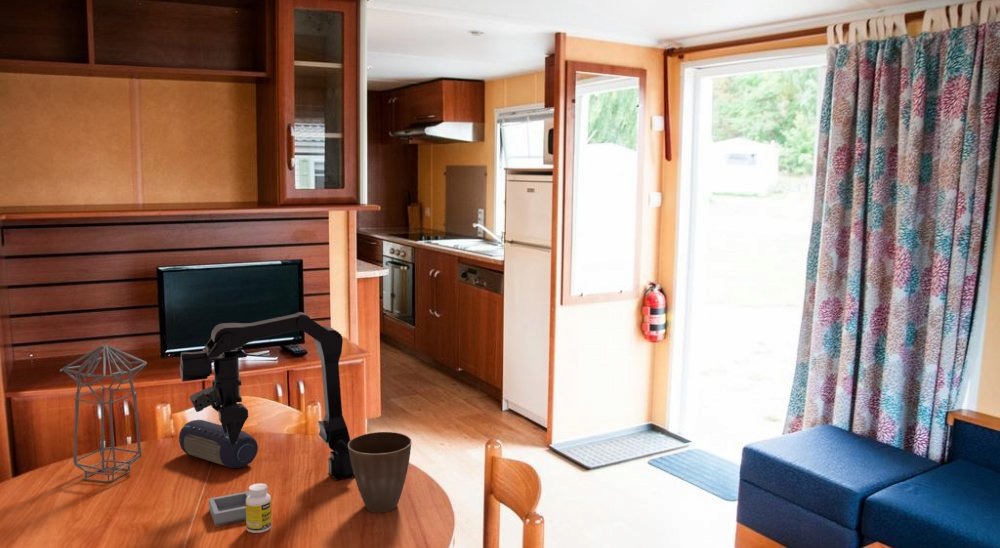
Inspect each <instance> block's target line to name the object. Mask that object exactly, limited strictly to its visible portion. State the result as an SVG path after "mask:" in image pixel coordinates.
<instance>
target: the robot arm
mask: <svg viewBox="0 0 1000 548" xmlns="http://www.w3.org/2000/svg"><path fill="white" fill-rule="evenodd" d="M297 331H303V332H304V333H305V334H307V335H308V336H309V337H311V338H313V341H314V345H315V349H316V351H317V354H318V358H319V360H320V363H321V373H322V388H323V400H324V413H325V414H324V418H323V420H318V421H317V422H318V426H319V433H318V436H319V437H320V438H321V439H322V441H323V442H324V443H325V444H326V446H327V447H328V448H329V449H330V450H331V451H330V452H329V453H330V455H329V456H330V457H328V473H329V475H330V476H332V478H333V479H334V480H335V481H339V480H344V479H348V478H355V477H354V473H353V469H352V465H351V461H350V456H349V450H348V443H349V441H350V440H352V438H351V437H350V433H349V429H348V426H347V423H346V421H345V418H344V415H343V404H342V393H341V392H342V391H341V390H342V389H341V378H340V376H341V375H340V364H339V363H340V358H341V356H342V352H343V344H344V343H343V342H344V339H343V336H342V334H341V333H340V332H339V331H337V330H336V329H334V328H333V327H331V326H328V325H323V326H322V325H321V324H319V323H318V322H316V321H315V320H313V319H311V317H310V316H309V315H308V314H306V313H304V312H301V311H299V312H298V311H297V312H296V313H293V314H289V315H284V316H278V317H274V318H273V317H272V318H269V319H263V320H259V321H255V322H249V323H248V322H247V323H244V322H243V323H242V322H226V323H225V322H224V323H223V322H222V323H219V324H217V325H215V326H214V327H213V329H212V330H211V334H210V339H209V340H208V342H207V343H206V344H205V345H204V348H203V349H202V350H201V351H190V352H189V351H183V352H181V353H180V364H179V372H180V373H179V375H180V379H181V382H182V383H185V382H191V381H192V382H193V381H200V380H207V379H208V377H211V375H212V374H214V375H213V377H214V378H213V379H212V381H211V386H209V387H206V388H204V389H202V390H199V391H197V392H195V393H193V394H191V395H190V396H189V400H190V402H191V404H192V406H193V408H194V411H195V412H196V413H199V412H202V411H203V410H204V409H206V408H208V407H210V406H211V408H212V409H214V410H215V411H216V412H217V414H218V415H217V416H218V420H219V423H221V424H220V425H222V427H223V431H224V433H228V437H229V441H230V444H231V445H233V444H236V441H237V439H238V436H239V434H240V432H241V431H242V429H243V428H244V425H245V422H246V421H247V420H248V418H249V410H248V408H247V407H246V405H244V404H243V403H242V402H243V399H242V398H243V397H242V396H241V386H242V380H241V379H240V365H239V363H240V360H239V359H241V358H247V357H248V354H247V353H246V352H245V351H243V350H242V348H241V347H243V346H245V345H247V344H249V343H251V342H254V341H256V340H259V339H260V340H261V339H266V338H269V337H273V336H278V335H284V334H288V333H293V332H297ZM212 361H213V365H212Z"/></svg>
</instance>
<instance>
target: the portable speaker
mask: <svg viewBox="0 0 1000 548" xmlns="http://www.w3.org/2000/svg"><path fill="white" fill-rule="evenodd" d="M178 442H179V447H180V448H181V450H182V451H183V452H184V454H187V455H189V456H193V457H196V458H199V459H201V460H202V459H203V460H206V461H208V462H212V463H214V464H218V465H222V466H225V467H227V468H230V469H240V468H243V467H247V466H248V465H249V464H251V463H252V462H253V461H254V460H255V458H256V457H257V455H258V451H259V446H258V442H257V440H256V438H255V437H254V436H252V435H251V434H249V433H248V432H246V431H244V430H241V432H240V434H239V436H238V439H237V441H236V444H233V445H231V444H230V441H229V437H228V433H224V431H223V427H222V424H218V423H216V422H215V423H214V422H211V421H207V420H204V419H194V420H193V419H192V420H190V421H188V422H186V423H185V424H184V425H183V426H182V427H181V429H180V432H179V435H178Z"/></svg>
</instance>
